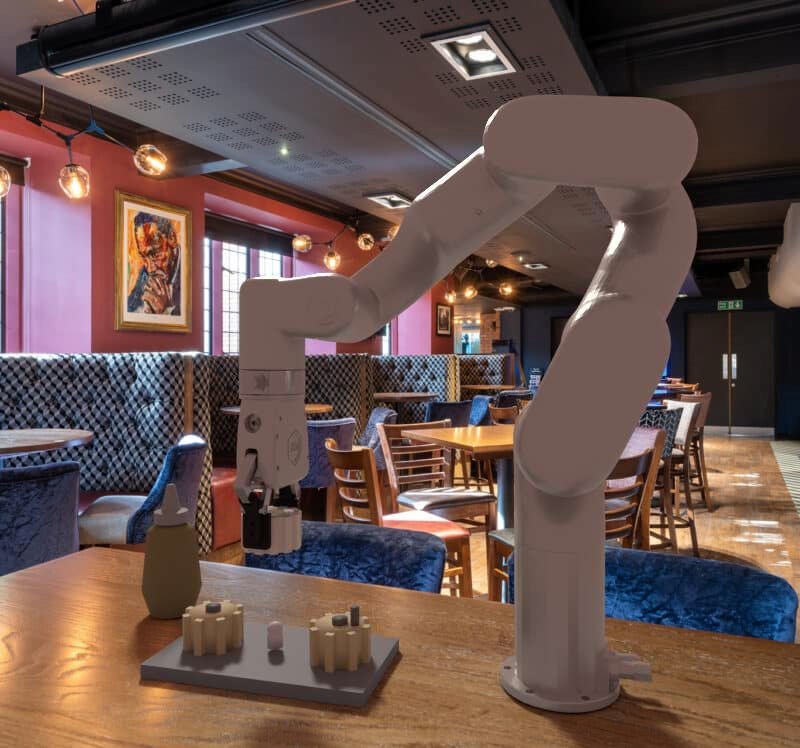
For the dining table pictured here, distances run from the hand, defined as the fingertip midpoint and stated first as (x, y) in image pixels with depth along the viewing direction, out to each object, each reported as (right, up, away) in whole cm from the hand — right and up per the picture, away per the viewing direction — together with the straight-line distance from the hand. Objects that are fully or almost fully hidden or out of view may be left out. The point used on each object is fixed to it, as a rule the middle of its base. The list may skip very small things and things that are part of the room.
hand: (272, 538), depth 78 cm
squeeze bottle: (-17, -15, +16) cm, 28 cm away
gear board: (0, -15, 0) cm, 15 cm away
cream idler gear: (0, -1, 0) cm, 1 cm away
